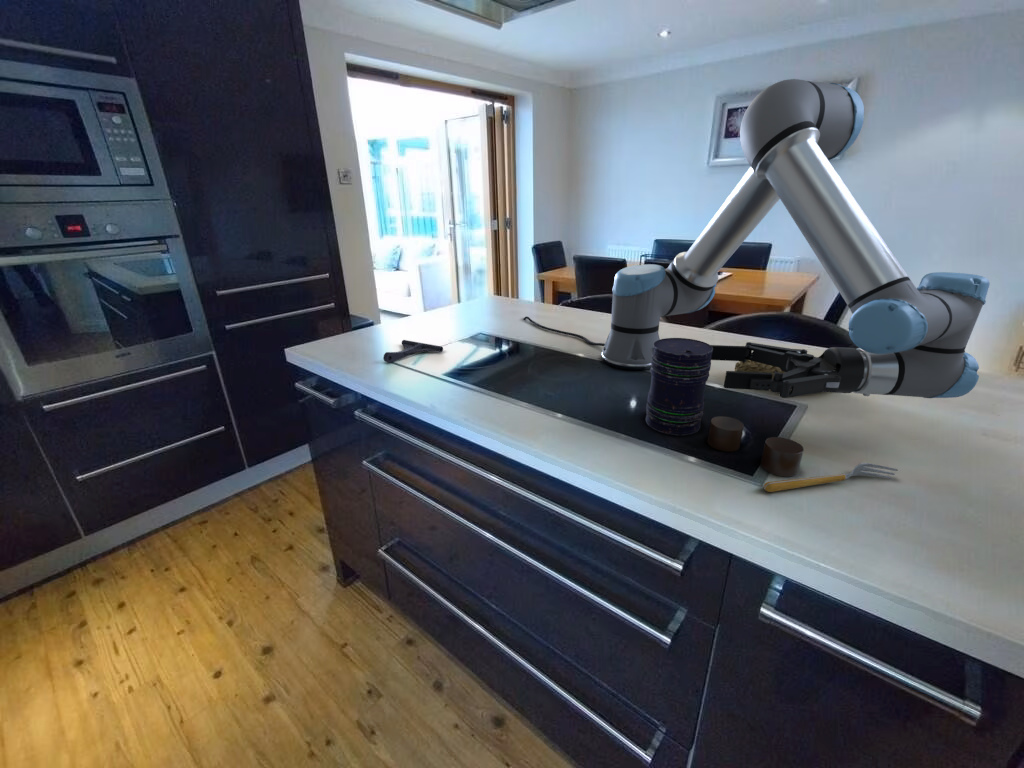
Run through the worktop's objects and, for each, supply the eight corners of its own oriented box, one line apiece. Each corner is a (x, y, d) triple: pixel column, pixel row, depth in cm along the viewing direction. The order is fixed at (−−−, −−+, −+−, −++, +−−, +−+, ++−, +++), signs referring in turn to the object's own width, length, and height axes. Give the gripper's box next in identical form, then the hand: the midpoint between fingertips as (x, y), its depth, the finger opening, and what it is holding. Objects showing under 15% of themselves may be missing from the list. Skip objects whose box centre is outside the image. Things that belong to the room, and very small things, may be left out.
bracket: (366, 359, 119) (365, 349, 118) (405, 344, 130) (404, 335, 129) (406, 368, 112) (404, 358, 111) (443, 351, 123) (442, 342, 122)
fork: (772, 487, 60) (899, 468, 63) (764, 477, 62) (888, 459, 64) (766, 499, 62) (890, 480, 64) (758, 489, 63) (880, 470, 66)
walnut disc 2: (754, 466, 68) (759, 443, 67) (770, 455, 71) (775, 433, 69) (788, 481, 64) (794, 457, 63) (803, 469, 67) (809, 446, 65)
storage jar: (639, 410, 86) (646, 337, 81) (689, 410, 86) (700, 337, 80) (652, 435, 77) (662, 355, 72) (709, 435, 77) (723, 355, 71)
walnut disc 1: (701, 442, 75) (704, 421, 73) (717, 433, 78) (721, 413, 76) (729, 455, 71) (733, 433, 70) (745, 445, 74) (749, 424, 72)
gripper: (890, 426, 62) (730, 416, 66) (815, 365, 85) (699, 361, 89) (907, 377, 60) (739, 370, 64) (825, 328, 82) (704, 325, 86)
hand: (715, 364), depth 76 cm, fingers open, 13 cm apart
